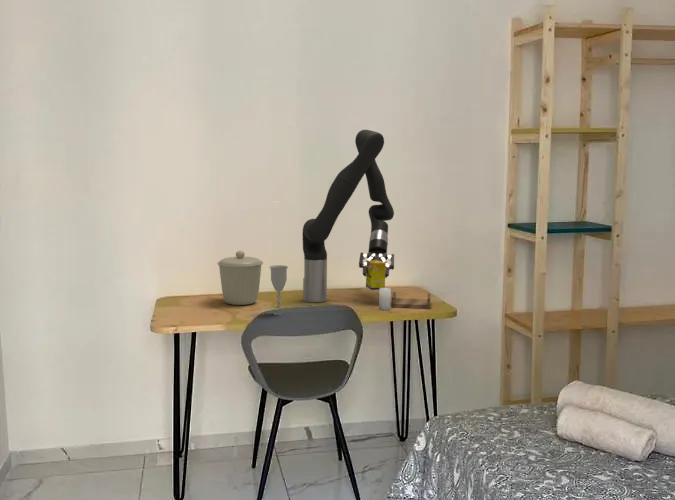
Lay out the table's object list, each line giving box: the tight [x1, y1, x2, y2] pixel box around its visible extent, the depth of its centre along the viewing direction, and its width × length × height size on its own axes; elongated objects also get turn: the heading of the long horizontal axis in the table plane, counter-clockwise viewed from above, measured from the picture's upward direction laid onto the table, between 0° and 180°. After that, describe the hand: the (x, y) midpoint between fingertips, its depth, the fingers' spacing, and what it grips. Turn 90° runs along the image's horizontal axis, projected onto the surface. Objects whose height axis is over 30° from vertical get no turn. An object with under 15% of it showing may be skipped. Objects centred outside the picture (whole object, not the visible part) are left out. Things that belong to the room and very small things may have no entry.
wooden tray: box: [391, 291, 431, 310], centre depth 302 cm, size 15×11×4 cm
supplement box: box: [365, 260, 386, 291], centre depth 303 cm, size 6×6×11 cm
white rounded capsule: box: [378, 287, 392, 311], centre depth 295 cm, size 4×4×8 cm
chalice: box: [269, 264, 289, 309], centre depth 285 cm, size 7×7×18 cm
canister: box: [217, 250, 264, 306], centre depth 303 cm, size 18×18×21 cm
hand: (375, 276), depth 301 cm, fingers closed on supplement box, 8 cm apart
